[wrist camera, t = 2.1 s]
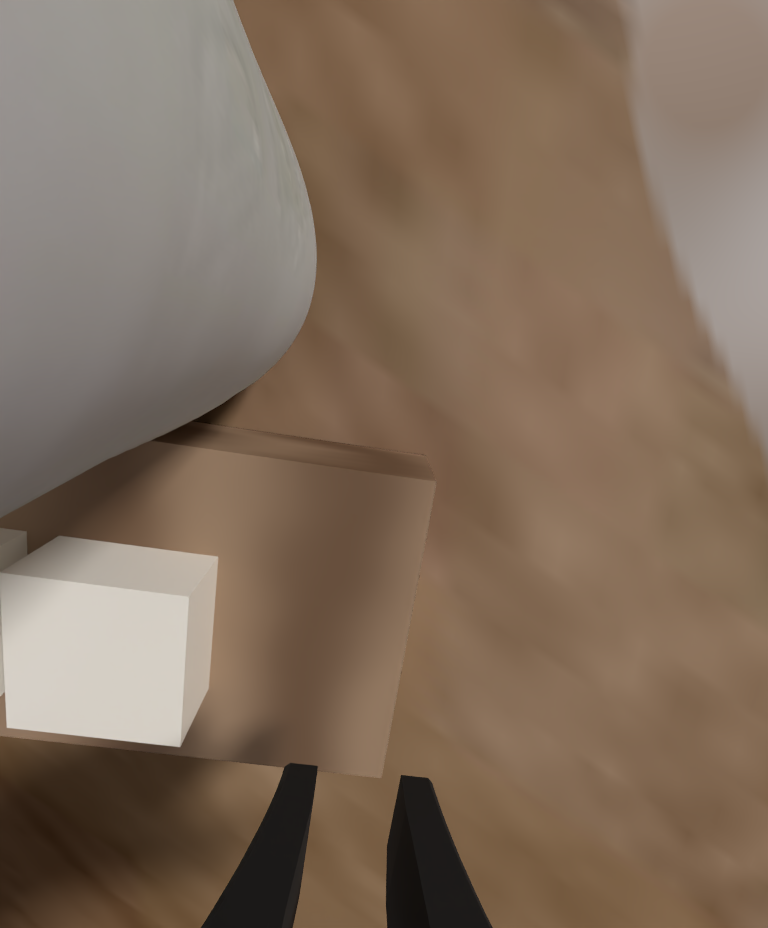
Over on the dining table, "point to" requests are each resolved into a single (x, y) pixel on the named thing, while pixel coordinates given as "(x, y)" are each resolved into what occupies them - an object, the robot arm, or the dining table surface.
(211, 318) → the glass bottle
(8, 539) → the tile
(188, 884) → the dining table surface
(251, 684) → the tan flat block
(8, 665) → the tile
